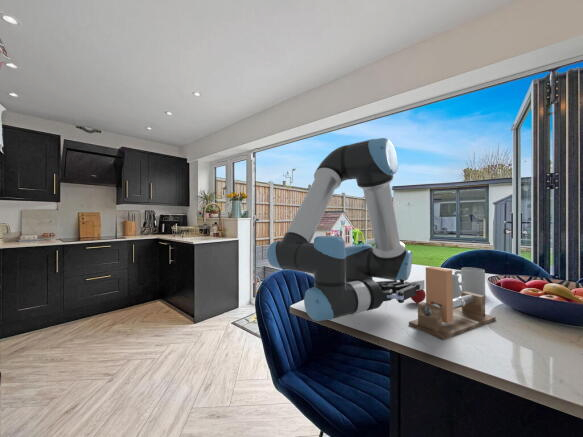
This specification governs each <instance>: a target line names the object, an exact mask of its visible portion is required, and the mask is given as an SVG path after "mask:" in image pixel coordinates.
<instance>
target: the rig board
mask: <svg viewBox="0 0 583 437" xmlns="http://www.w3.org/2000/svg"><path fill="white" fill-rule="evenodd" d="M461 292H462V291H461ZM465 295H473V296H474V297H475V298H476V302H475V303H473V304H470V305H466V306H464V307H460V308H456V309H453V321H452V322H449V323H445V322H442V308H440V307H437V306H434V305H430V304H427V303H426V302H423V301H422V302H420V303H417V318H416V319H414V320H410V321H408V326H411V327H412V328H416V329H417V330H419V331H423V332H425V333H427V334H428V335H431V336H434V337H436V338H438V339H440V340H442V341H443V340H446V339H449V338H452V337H454V336H457V335H459V334H462V333H465V332H468V331H470V330H474V329H475V328H478V327H481V326H484V325H486V324H489V323H492V322H494V321H496V320H497V318H496V317H495V316H493V315H490V314H487V313H486V295H485V296H483V295H479V294H475V293H471V292H466V291H465V292H462V296H465ZM424 306H427V307H429V308H430V309H428V308H427V307H425V308H427V311H428V310H429V311H430V310H431V316H429V315H430V313H429V315H427V314H426V315H427V316H425V315H424V314H423V311H422V310H423V308H424ZM425 308H424V310H425ZM424 312H425V313H426V311H424ZM428 316H429V317H428Z"/></svg>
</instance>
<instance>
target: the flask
mask: <svg viewBox="0 0 583 437" xmlns="http://www.w3.org/2000/svg"><path fill="white" fill-rule="evenodd" d="M459 278H460V275H458V274H457V275H454V274H452V287H453V299H454V298H456V297H462V288H461V287H460V286H461V285H459V282H460V281H459ZM458 281H459V282H458Z"/></svg>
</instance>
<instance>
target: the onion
mask: <svg viewBox="0 0 583 437" xmlns="http://www.w3.org/2000/svg"><path fill="white" fill-rule="evenodd" d="M410 299H411V301H413V302H414V303H416V304H418V303H421V302H423V301H425V300H426V290H425V289H422V290H417V291H416V295H415V296H413V297H411V298H410Z"/></svg>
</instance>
